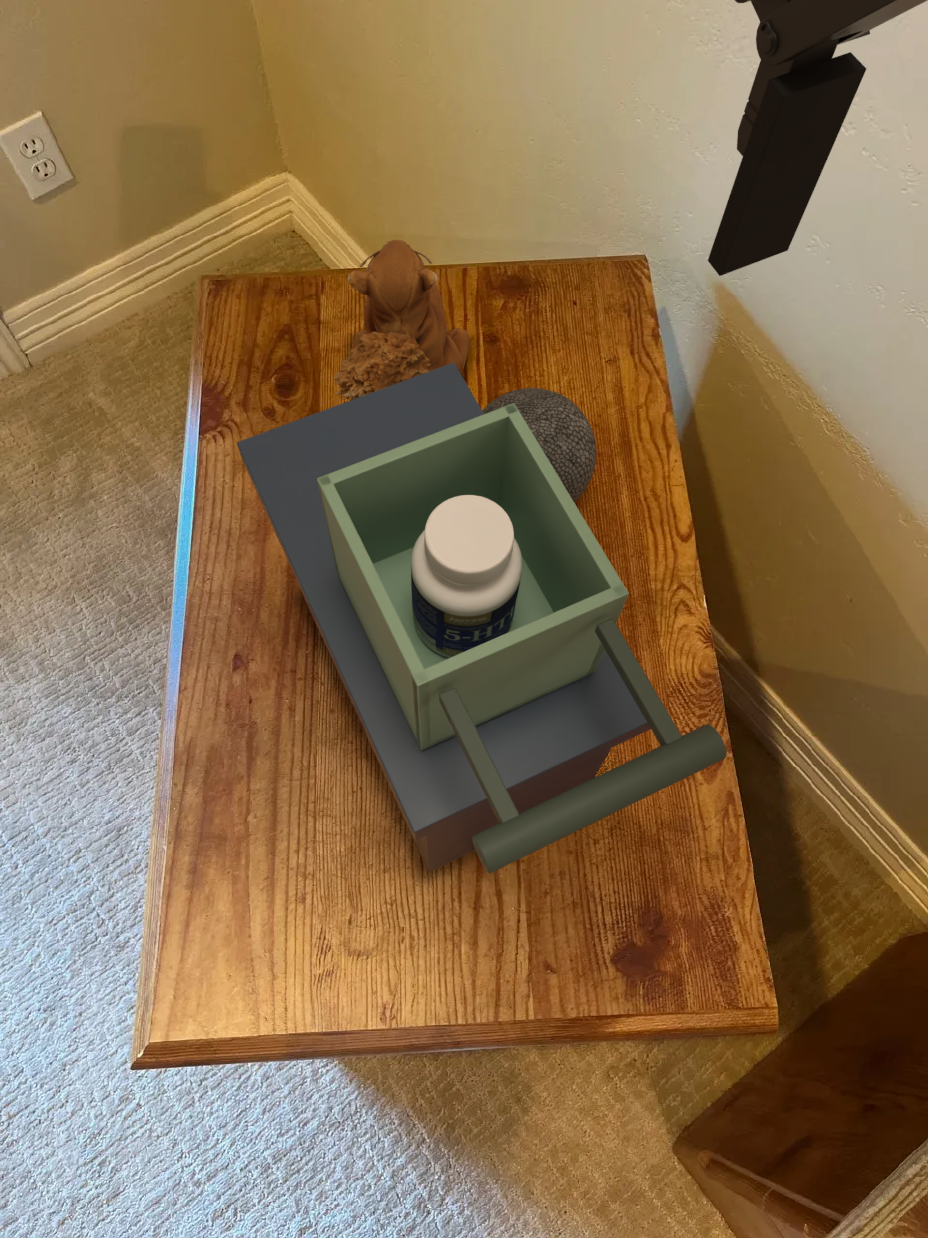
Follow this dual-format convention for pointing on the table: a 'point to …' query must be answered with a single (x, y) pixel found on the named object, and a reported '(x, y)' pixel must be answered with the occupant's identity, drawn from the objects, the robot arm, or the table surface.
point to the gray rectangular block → (419, 779)
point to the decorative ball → (556, 433)
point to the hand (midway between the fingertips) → (867, 407)
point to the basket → (541, 628)
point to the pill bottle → (465, 575)
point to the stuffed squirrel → (398, 324)
